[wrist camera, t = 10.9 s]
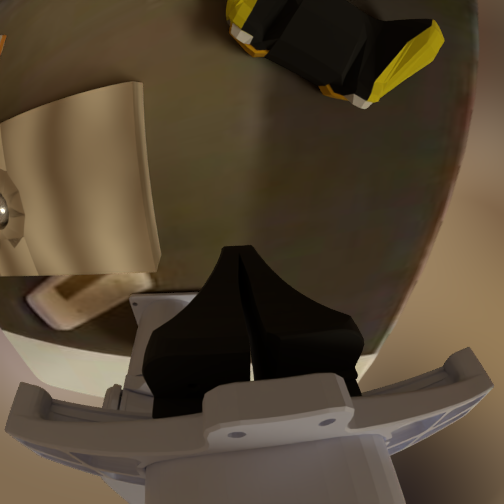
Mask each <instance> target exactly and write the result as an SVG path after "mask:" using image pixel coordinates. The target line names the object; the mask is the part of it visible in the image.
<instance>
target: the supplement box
mask: <svg viewBox="0 0 504 504" xmlns="http://www.w3.org/2000/svg"><path fill="white" fill-rule="evenodd" d="M5 40H6V35H0V56H1V53H2V49H3V46H4V43H5Z"/></svg>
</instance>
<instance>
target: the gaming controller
mask: <svg viewBox="0 0 504 504" xmlns="http://www.w3.org/2000/svg"><path fill="white" fill-rule="evenodd" d="M226 21H227V24H228V25H230V29H229V34H230V35H231V36H232V37H233V38H234V39H235V40H236V41H237V42H238V43H239V45H240V46H241V47H242V48H243V49H244V50H245V51H246V52H247V53H248V54H249V55H251V56H252V57H265V58H267V59H269V60H271V61H273V62H275V63H277V64H279V65H281V66H283V67H285V68H287V69H289V70H291V71H292V72H294V73H296V74H298V75H300V76H302V77H303V78H305V79H307V80H309V81H310V82H312V83H314V84H315V85H317V86H318V87H319V88H320V90H321V92H322V94H323V95H325V96H328V97H331V98H337V99H342V100H347V101H350V102H351V103H352V104H353V105H355V106H357V107H359V108H363V109H366V108H367V107H369V106H370V105H371V104H372V103H374V102H378V101H379V99H380V97H382V96H383V95H385V94H386V93H387V92H389V91H390V90H391V89H393V88H394V87H396V86H397V85H398V84H400V83H401V82H402V81H404V80H405V79H407V78H408V77H410V76H411V75H413V74H414V73H415V72H417V71H418V70H420V69H421V68H423V67H424V66H426V65H427V64H429V63H430V62H432V61H433V59H434V58H435V56H436V54H437V53H438V51H439V49H440V47H441V46H442V44H443V42H444V38H443V35H442V33H441V30H440V28H439V26H438V25H437V23H436V22H435V21H434V20H432V19H407V20H395V21H382V20H376V19H374V18H372V17H370V16H369V15H367V14H365V13H364V12H362V11H361V10H359V9H358V8H357V7H355V6H354V5H352V4H351V3H349V2H348V1H346V0H227V6H226Z"/></svg>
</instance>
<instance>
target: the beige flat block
mask: <svg viewBox="0 0 504 504" xmlns="http://www.w3.org/2000/svg"><path fill="white" fill-rule="evenodd" d="M0 193H1V194H2V196H3V197H4V199H5V200H6V203H7V207H8V210H9V221H8V222H6V223H2V224H0V276H44V275H84V274H115V273H143V272H156V271H157V267H158V264H159V261H160V257H161V251H160V245H159V239H158V233H157V227H156V221H155V214H154V208H153V201H152V193H151V185H150V177H149V168H148V158H147V148H146V136H145V121H144V103H143V83H141V82H135V81H131V82H125V83H120V84H116V85H111V86H107V87H102V88H98V89H94V90H90V91H87V92H83V93H79V94H76V95H73V96H69V97H66V98H63V99H60V100H57V101H54V102H51V103H48V104H45V105H43V106H40V107H37V108H35V109H32V110H30V111H27V112H25V113H22V114H20V115H17V116H15V117H13V118H11V119H8V120H6V121H4V122H2V123H0Z"/></svg>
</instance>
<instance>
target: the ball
mask: <svg viewBox="0 0 504 504" xmlns="http://www.w3.org/2000/svg"><path fill="white" fill-rule="evenodd" d="M8 221H9V210H8V207H7V203H6V200H5V199H4V197H3V196H2V194H1V193H0V224H2V223H6V222H8Z"/></svg>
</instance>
